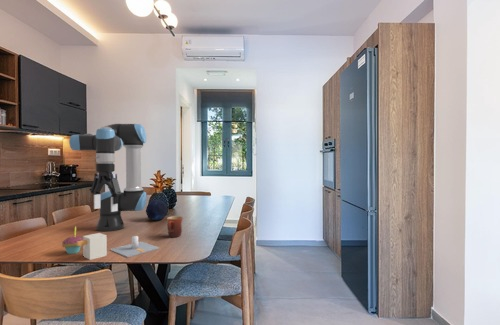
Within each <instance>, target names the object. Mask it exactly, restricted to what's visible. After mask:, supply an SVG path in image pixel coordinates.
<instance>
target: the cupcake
mask: <svg viewBox="0 0 500 325" xmlns="http://www.w3.org/2000/svg"><path fill="white" fill-rule="evenodd" d="M73 230H74V233H73V236H69V237H67V238H66V239H64V240H63V241H62V244H61V245H62V247H63V248H64V249H65V251H66V254H69V255H73V254H77V253H79V252H80V250H81V247H82V245H81V246H77V242H78V241H83V237H80V236H76V235H77V225H75V226H74V229H73Z"/></svg>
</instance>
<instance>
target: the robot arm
mask: <svg viewBox="0 0 500 325" xmlns="http://www.w3.org/2000/svg"><path fill="white" fill-rule="evenodd" d="M146 134H147V133H146V130H145V127H144V126H143V125H142V124H140V123H112V124H108V125H105V126H101V127H100V128H97V129H96V130H95V131H91V132H88V133H84V134H72V135H71V136H70V137H69V147H70V149H71V150H72V151H79V152H80V151H95V153H96V154H95V162H96V164H95V171H96V173H94V177H93V182H92V184H91V189H90V193H91V194H93V210H96V209H98V210H99V218H98V221H97V224H96V231H99V232H113V231H119V230H122V229H124V228H125V223H124V221H123V218H122V212H138V211H139V212H141V211H143V210H144V209H145V208H146V204H147V192H146V191H144V188H143V187H142V161H141V160H142V158H141V157H142V155H141V154H142V152H141V150H142V148H143V147H144V144H145V143H146V142H147V135H146ZM122 147H124V148H125V183H126V184H125V186H126V187H125V188H124V189H123V192H122V191H121V188H120V184H119V180H118V174H117V173H113V172H115V170H116V168H115V167H116V166H115V162H116V161H115V160H116V156H115V153H116V152H117V151H120V150H121V149H122ZM104 185H106V186H107V188H108V189H109V191H104V192H101V191H102V189H103V187H104Z"/></svg>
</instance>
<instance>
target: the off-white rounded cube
mask: <svg viewBox="0 0 500 325" xmlns="http://www.w3.org/2000/svg"><path fill="white" fill-rule="evenodd" d="M107 236H108V235H107V234H104V233H101V232H98V233H92V234H91V233H90V234H88V235H82V238H83V241H78V242H77V246H81V247H82V251H83V252H82V256H84V258H85V259H87V260H89V261H91V260H95V259H99V258H104V257H107V256H108V255H107V254H108V252H107V250H108V249H107V248H108V247H107V246H108V245H107V243H108V242H107V241H108V237H107Z"/></svg>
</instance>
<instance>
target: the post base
mask: <svg viewBox="0 0 500 325" xmlns="http://www.w3.org/2000/svg"><path fill="white" fill-rule="evenodd" d="M159 249H160V246H157V245H153V244H150V243H147V242H145V241H144V242H143V241H139V235H132V236H131V243H129V244H125V245H122V246H117V247H113V248H110V249H109V251H112V252H114V253H116V254H118V255H120V256H123V257H125V258H131V257H134V256H137V255H141V254H145V253H149V252H152V251H155V250H159Z"/></svg>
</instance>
